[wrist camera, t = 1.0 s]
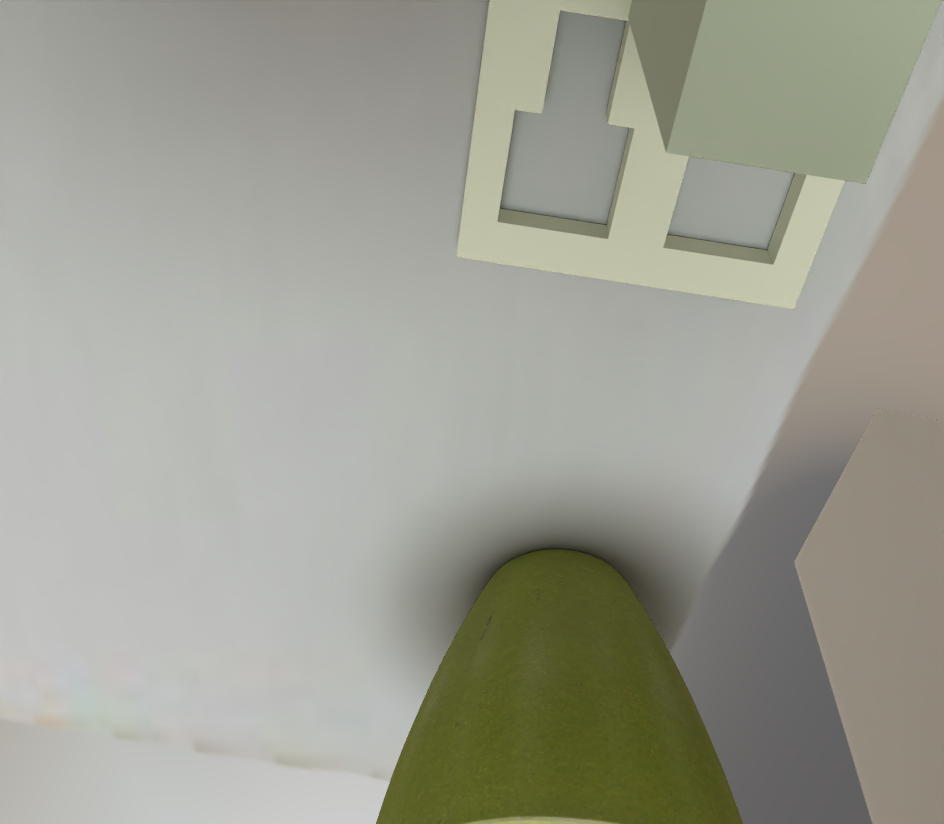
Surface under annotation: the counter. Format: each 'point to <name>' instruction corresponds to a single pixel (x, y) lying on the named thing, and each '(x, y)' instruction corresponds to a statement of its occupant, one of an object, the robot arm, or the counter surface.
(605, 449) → the counter surface
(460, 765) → the flower pot
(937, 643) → the robot arm
